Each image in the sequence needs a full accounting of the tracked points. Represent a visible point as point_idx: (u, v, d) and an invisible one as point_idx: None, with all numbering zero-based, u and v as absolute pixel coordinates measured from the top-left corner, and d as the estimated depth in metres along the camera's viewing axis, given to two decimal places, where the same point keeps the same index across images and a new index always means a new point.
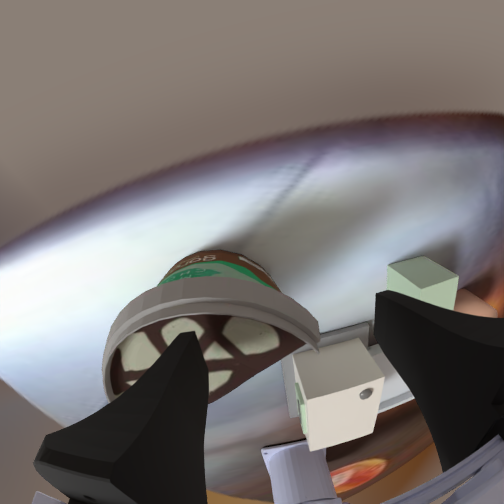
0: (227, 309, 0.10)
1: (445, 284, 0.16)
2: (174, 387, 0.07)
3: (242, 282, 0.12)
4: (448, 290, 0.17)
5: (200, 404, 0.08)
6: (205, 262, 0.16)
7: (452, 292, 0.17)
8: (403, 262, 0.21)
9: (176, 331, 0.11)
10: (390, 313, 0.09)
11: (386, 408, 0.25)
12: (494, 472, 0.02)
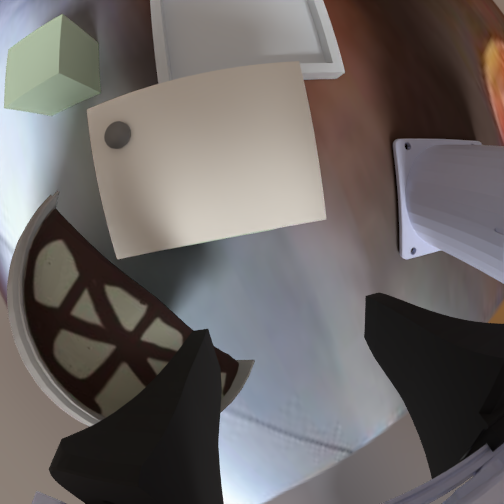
0: (20, 306, 0.06)
1: (9, 66, 0.07)
2: (192, 385, 0.07)
3: (8, 298, 0.07)
4: (17, 55, 0.07)
5: (214, 403, 0.08)
6: None
7: (22, 45, 0.07)
8: None
9: (74, 361, 0.07)
10: (379, 316, 0.09)
11: (326, 28, 0.11)
12: (494, 472, 0.02)
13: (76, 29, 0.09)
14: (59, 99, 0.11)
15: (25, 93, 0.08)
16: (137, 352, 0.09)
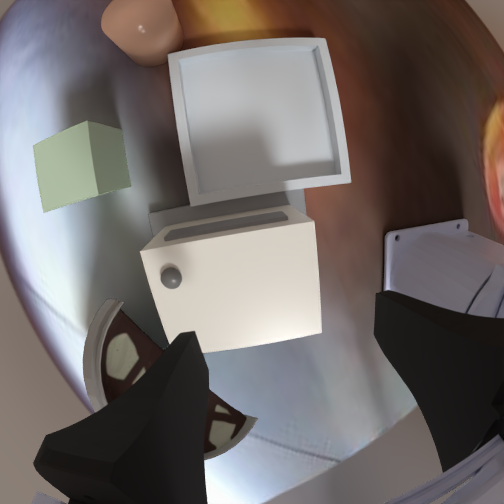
0: (99, 381, 0.11)
1: (39, 168, 0.11)
2: (174, 387, 0.07)
3: (84, 367, 0.11)
4: (46, 157, 0.11)
5: (200, 404, 0.08)
6: None
7: (49, 146, 0.11)
8: None
9: None
10: (390, 313, 0.09)
11: (339, 135, 0.15)
12: (494, 472, 0.02)
13: (102, 130, 0.13)
14: None
15: (65, 205, 0.12)
16: None
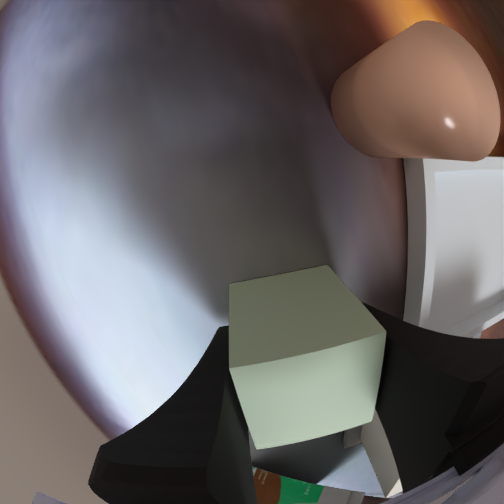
0: None
1: (252, 404, 0.07)
2: (229, 381, 0.07)
3: None
4: (273, 390, 0.06)
5: None
6: None
7: (283, 373, 0.06)
8: None
9: None
10: None
11: None
12: (494, 472, 0.02)
13: None
14: None
15: (307, 439, 0.07)
16: None
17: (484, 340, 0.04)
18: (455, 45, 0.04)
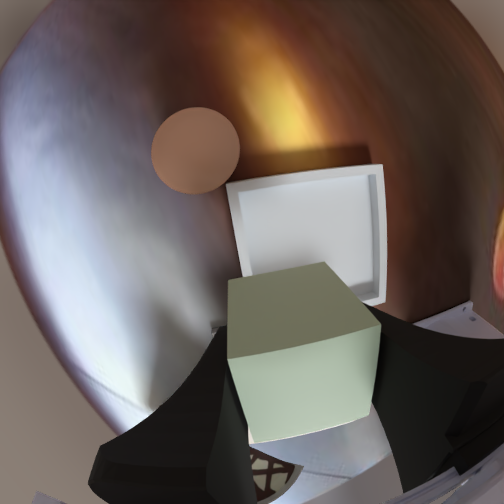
0: None
1: (250, 395, 0.07)
2: (229, 381, 0.07)
3: None
4: (270, 381, 0.07)
5: None
6: None
7: (280, 365, 0.07)
8: None
9: None
10: None
11: (382, 265, 0.18)
12: (494, 472, 0.02)
13: None
14: None
15: (304, 433, 0.08)
16: None
17: (484, 340, 0.04)
18: (196, 120, 0.11)
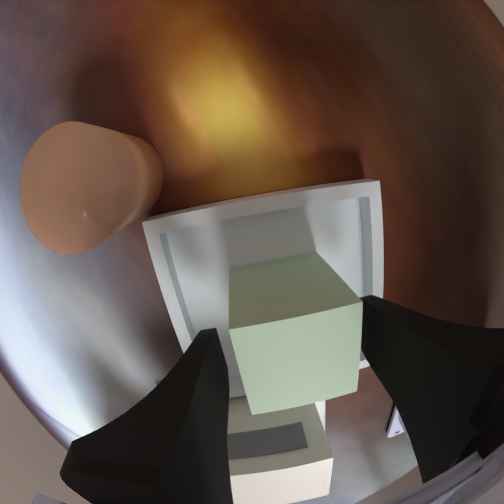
0: None
1: (248, 365, 0.08)
2: (202, 384, 0.07)
3: None
4: (266, 351, 0.08)
5: (223, 401, 0.08)
6: None
7: (274, 335, 0.08)
8: None
9: None
10: (371, 319, 0.09)
11: None
12: (494, 472, 0.02)
13: None
14: None
15: (298, 406, 0.09)
16: None
17: (500, 329, 0.04)
18: (63, 143, 0.06)
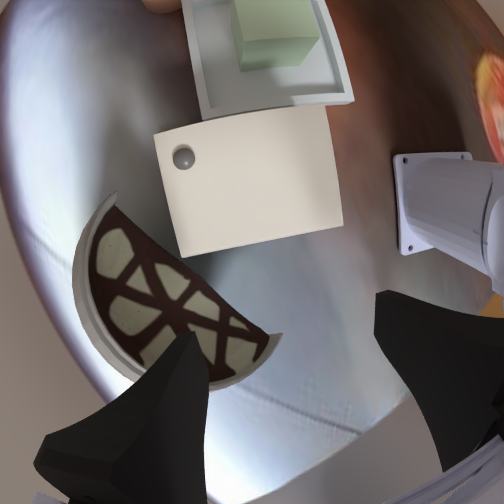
0: (85, 274, 0.10)
1: (241, 5, 0.10)
2: (174, 386, 0.07)
3: (73, 273, 0.11)
4: None
5: (200, 404, 0.08)
6: None
7: None
8: (236, 51, 0.15)
9: (126, 321, 0.11)
10: (390, 313, 0.09)
11: (339, 60, 0.14)
12: (494, 472, 0.02)
13: None
14: (274, 57, 0.13)
15: (277, 38, 0.11)
16: (179, 318, 0.12)
17: None
18: None
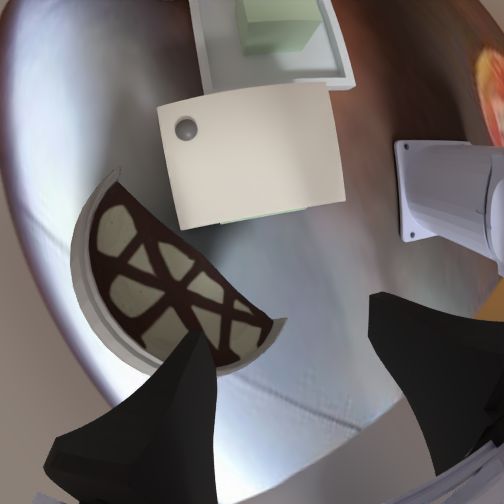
0: (85, 251, 0.09)
1: None
2: (186, 386, 0.07)
3: (71, 251, 0.10)
4: None
5: (209, 403, 0.08)
6: None
7: None
8: (240, 36, 0.14)
9: (127, 302, 0.10)
10: (383, 315, 0.09)
11: (341, 47, 0.14)
12: (494, 472, 0.02)
13: None
14: (277, 41, 0.13)
15: (281, 20, 0.10)
16: (183, 299, 0.12)
17: None
18: None
